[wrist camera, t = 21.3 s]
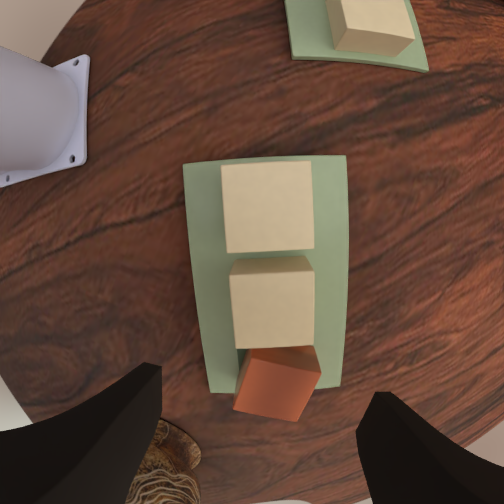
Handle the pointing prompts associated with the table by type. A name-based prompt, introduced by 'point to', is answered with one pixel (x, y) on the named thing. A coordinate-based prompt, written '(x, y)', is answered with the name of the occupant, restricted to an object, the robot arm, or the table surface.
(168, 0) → the table surface
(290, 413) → the reddish orange block
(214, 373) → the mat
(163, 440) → the vase
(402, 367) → the table surface
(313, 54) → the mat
